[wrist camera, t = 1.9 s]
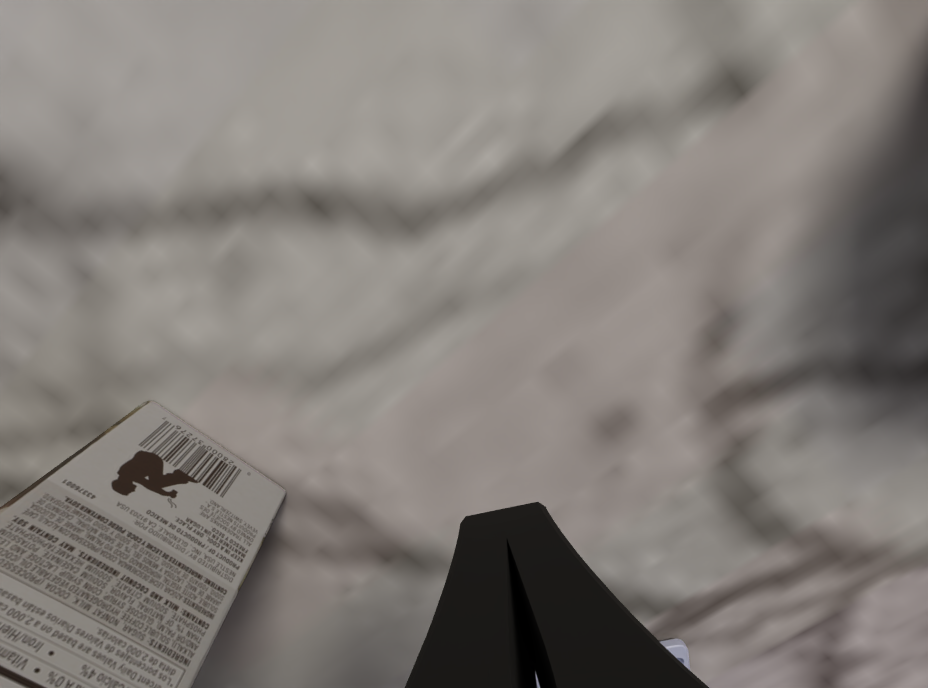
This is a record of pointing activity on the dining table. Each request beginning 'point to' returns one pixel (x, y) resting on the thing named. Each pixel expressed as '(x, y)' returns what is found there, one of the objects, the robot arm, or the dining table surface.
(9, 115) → the dining table surface
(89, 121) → the dining table surface
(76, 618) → the coffee box
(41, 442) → the dining table surface
